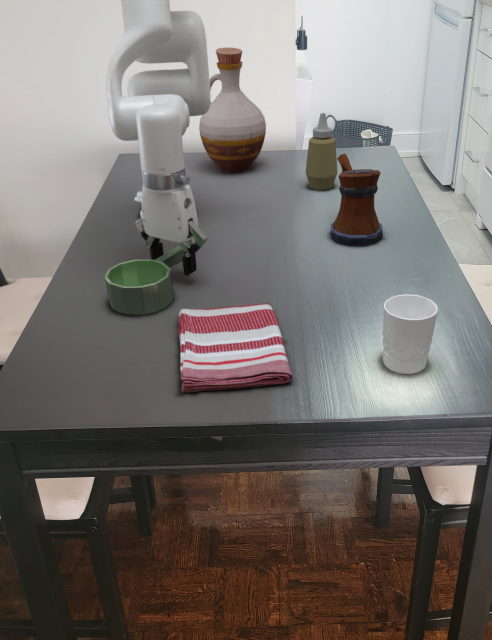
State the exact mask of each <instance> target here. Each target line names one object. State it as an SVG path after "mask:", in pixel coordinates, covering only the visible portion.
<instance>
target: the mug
mask: <svg viewBox="0 0 492 640" xmlns="http://www.w3.org/2000/svg"><path fill="white" fill-rule="evenodd" d="M337 162H339V164H340V167H341V173H339V174H338V180H339V184H340V185H339V188H338V190H339V193H340V195H341V197H340V206H339V210H338V213H337V215H336V217H335V220H334V221H333V222H332V223H330V235H331V237H332V238H333V239H334V240H335V241H336V242H337V243H338V244H342V245H347V246H358V247H359V246H360V247H361V246H362V247H364V246H367V245H371V244H375V243H377V242H378V241H379V240H380V239H382V238H383V236H384V234H383V233H384V232H383V224H382V223H380V221H379V218H378V215H377V211H376V209H375V195H376V194H377V192H378V190H379V187H378V181H379V179H380V176H381V171H380V170H378V169H371V168H370V169H369V168H368V169H367V168H364V169H363V168H362V169H361V168H360V169H353V168H352V165H351V162H350V159H349V157H348V155H347V153H341V154H339V155H338V157H337Z"/></svg>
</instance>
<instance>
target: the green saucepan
mask: <svg viewBox="0 0 492 640" xmlns="http://www.w3.org/2000/svg"><path fill="white" fill-rule="evenodd" d="M184 255H185V254H184V252H183V250H182V248H181V246H180V244H178V246H176V247H174V248H172V249H171V250H168V251H167V252H166V253H164V255H162V256H161V257H159V258H157V259H155V260H152V259H151V258H148V259H147V258H143V259H141V258H140V259H138V258H137V259H136V258H135V259H131V260H127V261H123V262H119V263H117V264H115V265H113V266H112V267H110V268H109V269H107V271H106V273H105V276H104V281H105V287H106V293H107V299H108V303H109V304H110V307H111V309H112V310H113V311H114V312H116V313H118V314H122V315H127V316H145V315H151V314H154V313H158V312H160V311H162V310H164V309H166V308H168V307H169V306H170V305H171V303H172V302H173V298H174V296H173V295H174V289H173V279H172V271H171V269H172V268H173V267H175V266H176V265H178V264H180V263H182V262H183V260H182V257H183V256H184Z"/></svg>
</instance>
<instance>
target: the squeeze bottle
mask: <svg viewBox="0 0 492 640" xmlns="http://www.w3.org/2000/svg"><path fill="white" fill-rule="evenodd" d="M336 142H337V141H336V138H335V137H334V136H333V128H331V127H329V126H328V120H327V115H326V113H325V112H321V113H320V114H319V118H318V123H317V126H316V127H314V128H312V137H310V138H309V140H308V147H307V155H306V164H305V176H306V178H307V179H306V180H307V182H308V186H309V188H311V189H313V190H318V191H324V190H330V189H332V188H333V187H334V184H335V181H336V179H337V176H338V160H337V158H338V157H337V144H336Z"/></svg>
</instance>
